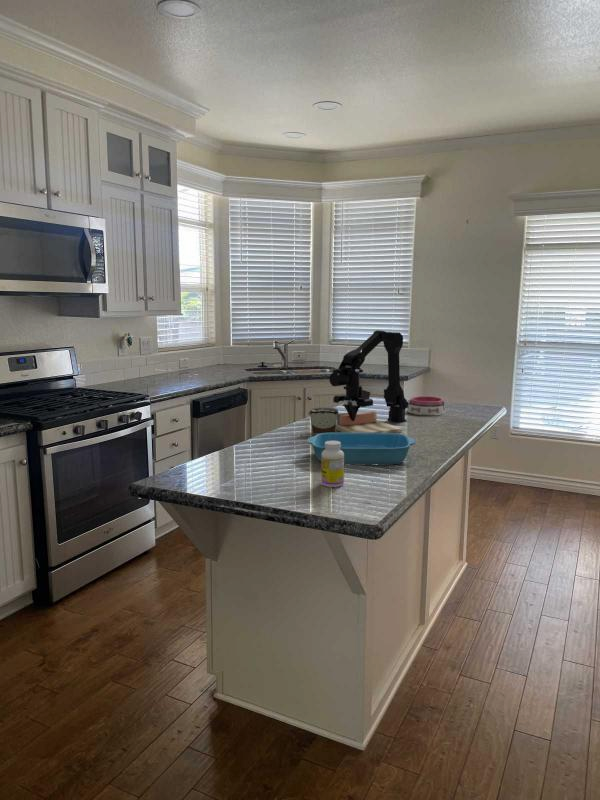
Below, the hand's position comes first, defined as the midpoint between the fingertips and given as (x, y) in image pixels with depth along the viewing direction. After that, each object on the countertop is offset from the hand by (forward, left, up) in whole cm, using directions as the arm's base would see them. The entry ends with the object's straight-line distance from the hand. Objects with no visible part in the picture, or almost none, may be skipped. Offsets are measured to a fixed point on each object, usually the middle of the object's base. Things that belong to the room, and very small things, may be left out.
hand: (353, 420), depth 248 cm
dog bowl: (-51, -18, -4) cm, 55 cm away
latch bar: (-4, -3, -2) cm, 5 cm away
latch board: (-5, +3, -4) cm, 7 cm away
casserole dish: (+21, +41, -4) cm, 46 cm away
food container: (+13, -1, -4) cm, 14 cm away
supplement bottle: (+43, +62, -4) cm, 76 cm away
